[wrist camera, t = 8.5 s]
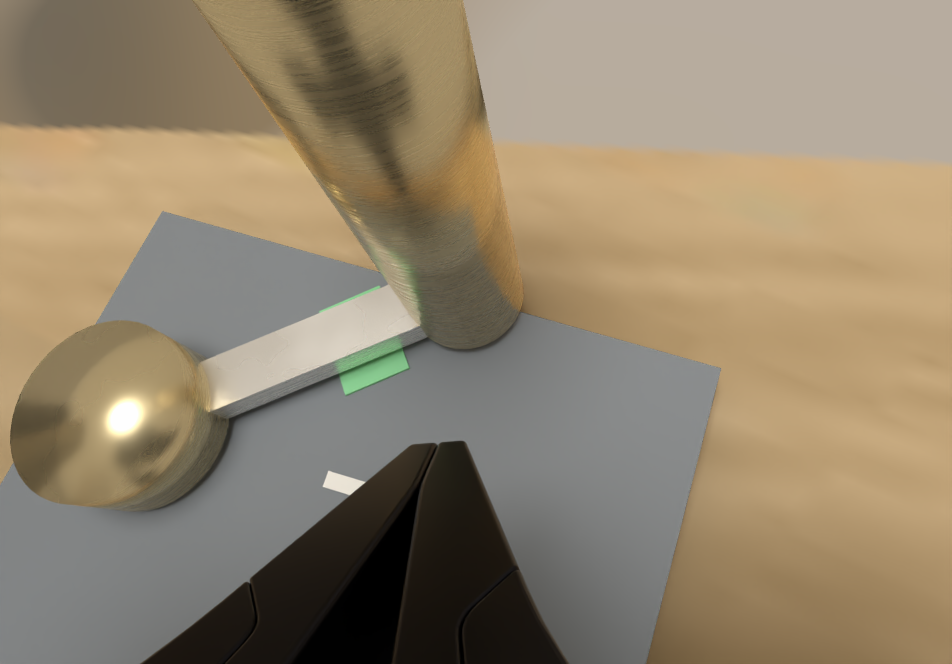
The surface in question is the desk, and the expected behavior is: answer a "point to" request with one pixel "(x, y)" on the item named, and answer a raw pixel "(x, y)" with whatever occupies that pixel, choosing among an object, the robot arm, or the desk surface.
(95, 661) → the gray board
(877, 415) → the desk surface
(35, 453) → the brass crank handle
